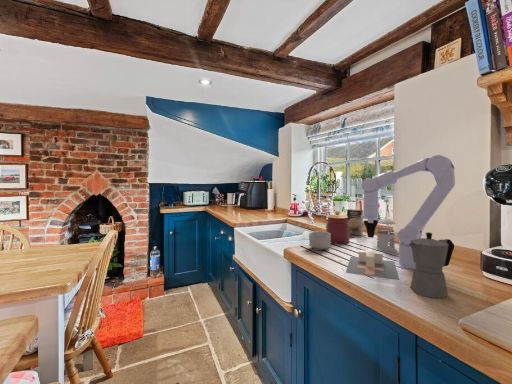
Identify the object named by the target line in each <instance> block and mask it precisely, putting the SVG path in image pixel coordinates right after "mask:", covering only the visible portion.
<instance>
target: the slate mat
mask: <svg viewBox="0 0 512 384" xmlns="http://www.w3.org/2000/svg"><path fill="white" fill-rule="evenodd" d="M345 273H346V274H354V275H360V276H367V277H374V278H381V279H388V280H395V281H400V277H399V274H398V270H397V266H396V262H395V261H394V260H385V259H383V264H377V263H375V268H373V267H366V262H360V261H359V256H350V258H349V261H348V264H347V268H346V270H345Z"/></svg>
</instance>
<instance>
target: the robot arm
mask: <svg viewBox="0 0 512 384" xmlns="http://www.w3.org/2000/svg"><path fill="white" fill-rule="evenodd" d="M419 172H428V173H429V172H430V173H431V175H433V178H434V181H435V183H436V185H435V186H434V187H433V189H432V191H431V192H430V193H429V194H428V196H427V198H426V199H425V200H424V202H423V203H422V205H421V206H420V207H419V209H418V210H417V211H416V213H415V215H414V216H413V217H412V218H411V220H410V221H409V222H408V223H407V224H406V226H405V227H403V228H401V229H400V230H399V231H398V232H397V238H398V240H399V241H398V260H396V261H397V265H398V267H399V268H405V269H413V270H414V269H415V268H416V267H415V266H416V263H415V262H414V260H413V254H412V248H411V246H409V244H410V243H411V240H415V239H422V238H421V237H422V234H423V230H424V229H425V227H426V225H427V224H428V223H429V222H430V219H431V218H432V217H433V216H434V214H435V213H436V211H438V209H439V208H440V206H441V205H442V203H443V202H444V201H445V200H446V199H447V196H448V195H449V194H450V192H451V191H452V190H453V189H454V187H455V186H456V185H455V184H456V178H455V166H454V164H453V162H452V160H451V159H450V158H449V157H447V156H446V157H445V156H444V155H441V154H435V155H433V156H431V157H425V158H423V159H420V160H418V161H416V162H413V163H411V164H409V165H406V166H404V167H402V168H400V169H398V170H396V171H393V170H387V169H385V170H383V172H382V173H381V174H378V175H373V176H372V178H370V177H368V178H365V179H364V180H363V181H362V183H361V188H362V190H363V216H361V218H363V224H364V225H365V229H366V235H367V238H371V239H372V238H373V239H374V236H375V233H376V227H377V225H378V224H379V223H378V221H379V220H378V219H379V217H380V216H379V190H380V189H385V188H386V187H389V186H392V185H395V184H397V182H398V180H399V179H402V178H404V177H407V176H410V175H413V174H415V173H419ZM364 219H366V220H364Z"/></svg>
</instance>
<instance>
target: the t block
mask: <svg viewBox="0 0 512 384" xmlns="http://www.w3.org/2000/svg"><path fill="white" fill-rule="evenodd" d="M358 257H359V261H360V262H366V267H373V268H375V263H377V264H383V260H384V251H383V252H382V251H374V250H373V251H371V250H364V249H363V250H361V249H358Z"/></svg>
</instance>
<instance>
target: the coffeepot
mask: <svg viewBox="0 0 512 384" xmlns="http://www.w3.org/2000/svg"><path fill="white" fill-rule="evenodd" d="M425 236H426V237H425V238H420V239H415V240H411V243H410V244H409V246H411V248H412V254H413V260H414V262H415V263H416V266H415V267H416V268H415V269H413V271H412V279H411V282H410V289H411V291H412V292H414V293H416V294H417V295H420V296H423V297H426V298H431V299H444V298H446V297H447V296H448V295H449V293H448V288H447V283H446V282H447V281H446V278H445V273H444V272H443V268H444V267H448V266H449V264H450V262H451V259H452V256H453V252H454V249H455V244H454V243H453V241H452V240H451V239H448V238H447V239H446V238H445V239H438V240H437V239H435V238H432V236H433V233H432V232H425Z"/></svg>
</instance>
